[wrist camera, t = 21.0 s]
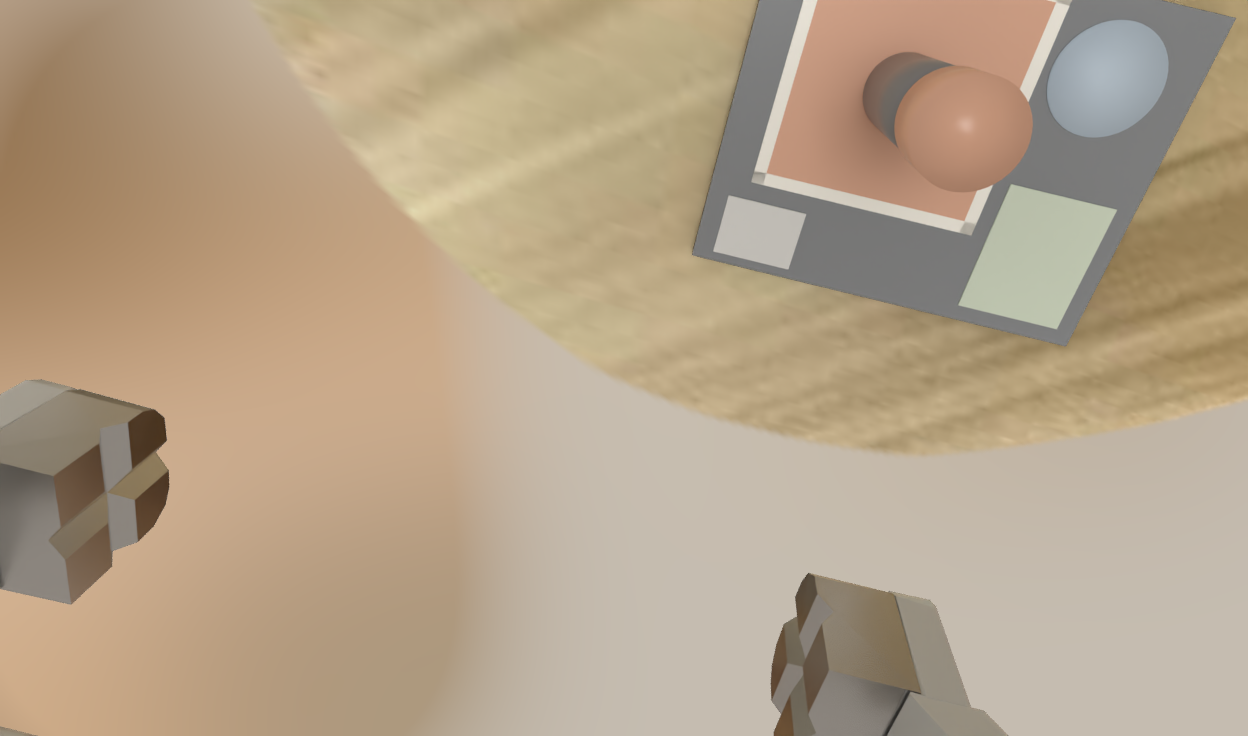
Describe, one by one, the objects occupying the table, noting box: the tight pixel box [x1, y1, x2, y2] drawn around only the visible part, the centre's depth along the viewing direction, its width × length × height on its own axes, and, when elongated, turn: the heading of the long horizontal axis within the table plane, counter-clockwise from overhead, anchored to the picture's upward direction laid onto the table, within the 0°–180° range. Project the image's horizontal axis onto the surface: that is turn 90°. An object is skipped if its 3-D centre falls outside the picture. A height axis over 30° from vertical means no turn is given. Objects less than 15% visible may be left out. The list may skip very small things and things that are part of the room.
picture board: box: [692, 0, 1236, 346], centre depth 38 cm, size 20×16×1 cm
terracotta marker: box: [863, 52, 1033, 192], centre depth 31 cm, size 4×4×12 cm
